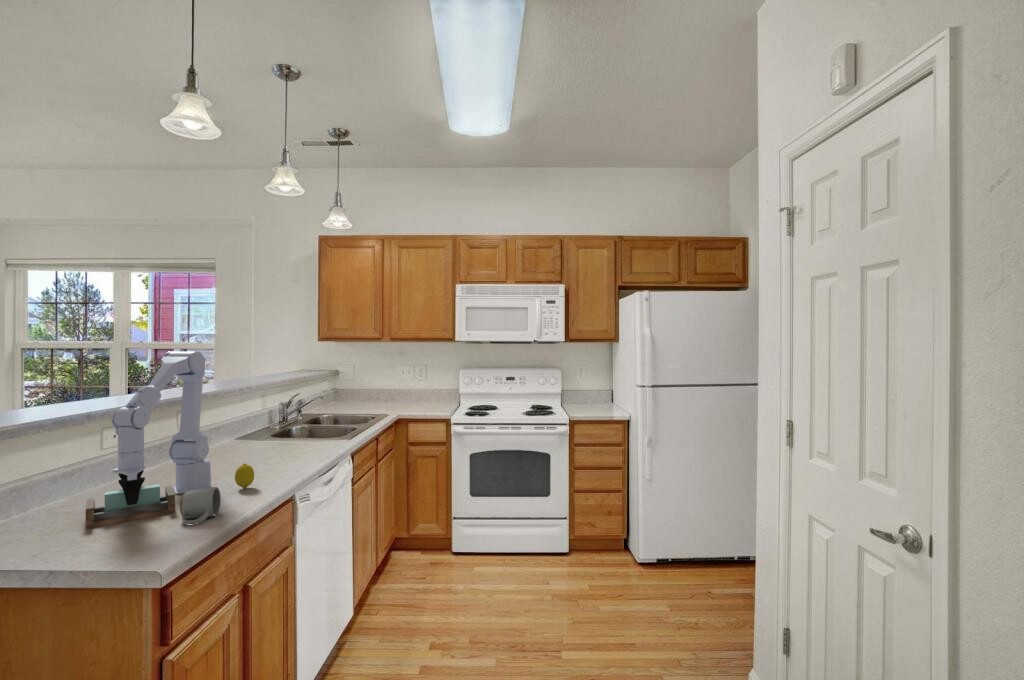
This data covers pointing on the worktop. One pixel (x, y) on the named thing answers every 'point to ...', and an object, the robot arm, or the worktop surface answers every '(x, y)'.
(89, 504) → the track board
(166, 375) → the robot arm
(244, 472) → the lemon
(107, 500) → the long teal rectangular block
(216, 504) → the ceramic mug
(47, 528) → the worktop surface
